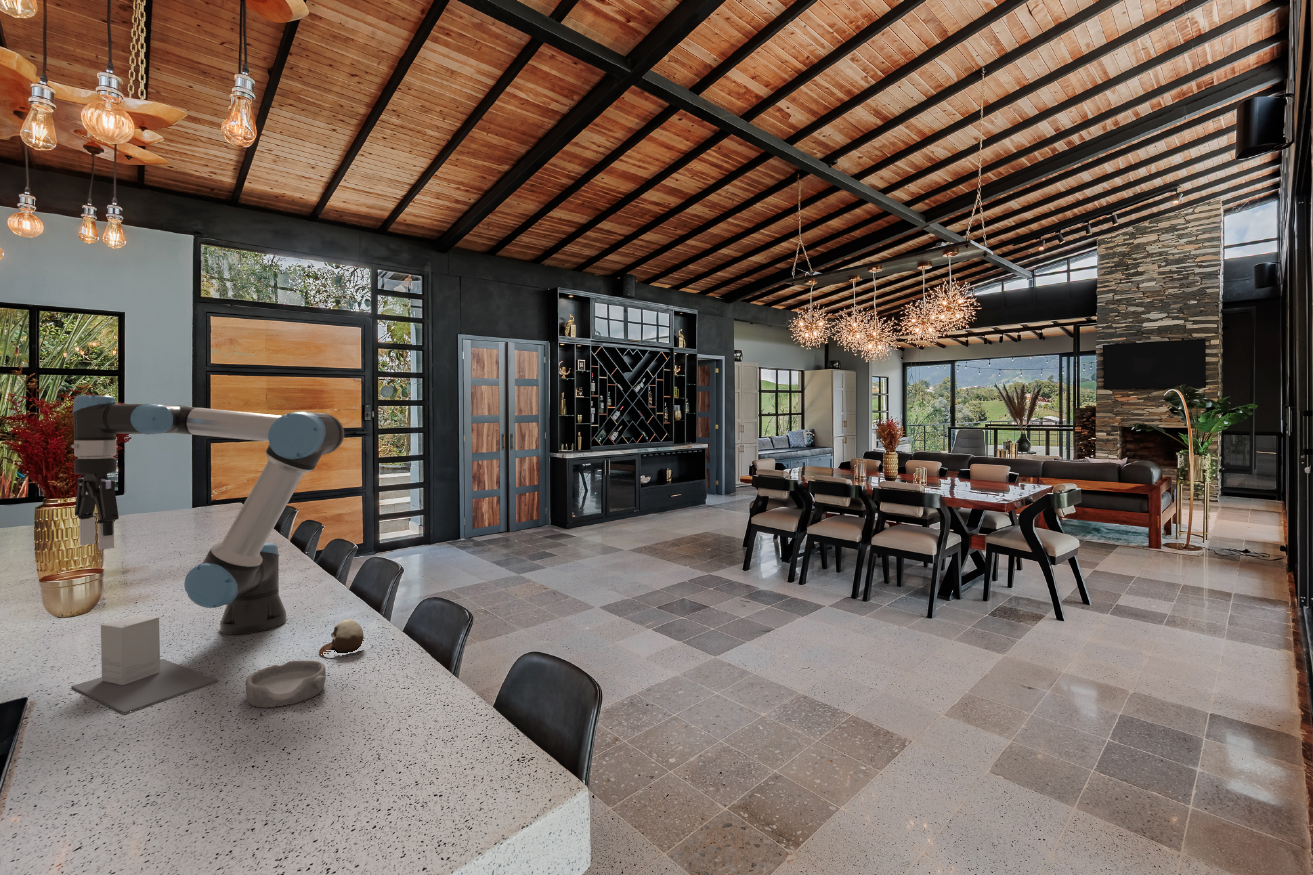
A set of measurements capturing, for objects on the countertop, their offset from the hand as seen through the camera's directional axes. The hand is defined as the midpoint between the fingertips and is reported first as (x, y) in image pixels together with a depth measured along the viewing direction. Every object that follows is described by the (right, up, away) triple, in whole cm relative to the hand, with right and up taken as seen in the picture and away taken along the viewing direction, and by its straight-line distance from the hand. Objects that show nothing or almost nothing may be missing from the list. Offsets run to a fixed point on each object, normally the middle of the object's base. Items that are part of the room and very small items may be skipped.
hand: (96, 546), depth 143 cm
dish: (+62, -27, -23) cm, 72 cm away
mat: (+29, -26, -19) cm, 44 cm away
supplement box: (+24, -26, -16) cm, 39 cm away
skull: (+62, -27, +1) cm, 67 cm away
